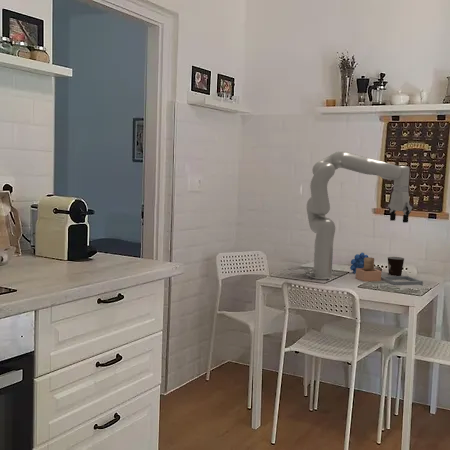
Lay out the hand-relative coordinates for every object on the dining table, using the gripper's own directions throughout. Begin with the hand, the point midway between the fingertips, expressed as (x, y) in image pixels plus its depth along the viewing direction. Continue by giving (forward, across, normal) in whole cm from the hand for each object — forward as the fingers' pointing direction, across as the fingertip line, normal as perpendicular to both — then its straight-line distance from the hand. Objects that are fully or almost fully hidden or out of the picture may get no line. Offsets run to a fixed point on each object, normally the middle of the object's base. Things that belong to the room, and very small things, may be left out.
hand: (398, 221), depth 331 cm
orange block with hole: (+30, +6, -23) cm, 38 cm away
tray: (+30, +16, -11) cm, 36 cm away
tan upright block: (+29, +6, -23) cm, 37 cm away
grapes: (+30, -12, -15) cm, 36 cm away
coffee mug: (+30, -1, +1) cm, 30 cm away
